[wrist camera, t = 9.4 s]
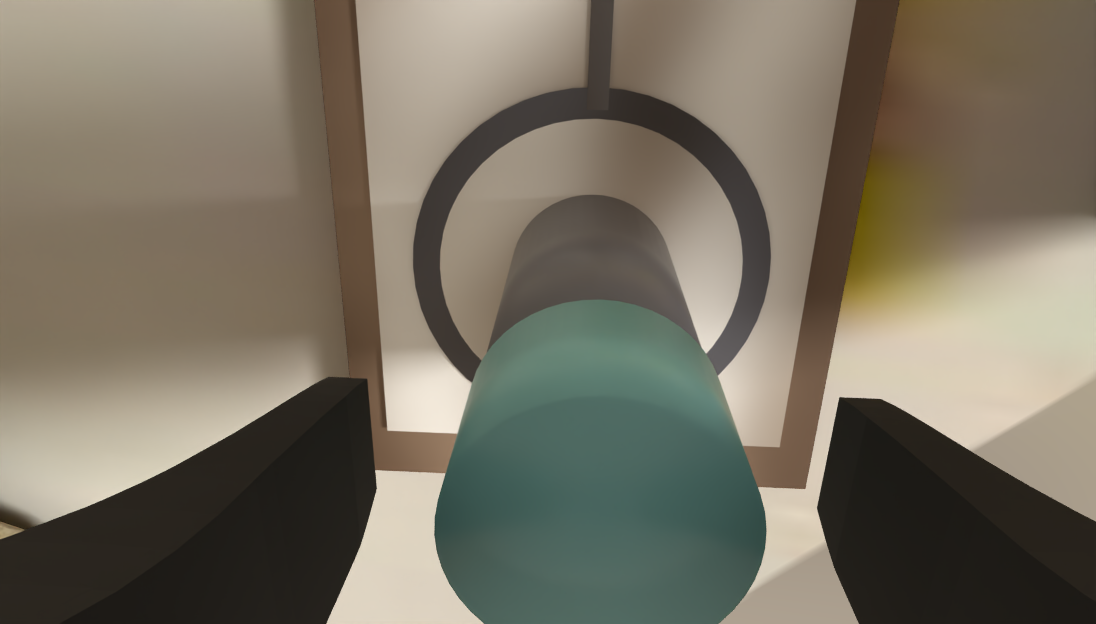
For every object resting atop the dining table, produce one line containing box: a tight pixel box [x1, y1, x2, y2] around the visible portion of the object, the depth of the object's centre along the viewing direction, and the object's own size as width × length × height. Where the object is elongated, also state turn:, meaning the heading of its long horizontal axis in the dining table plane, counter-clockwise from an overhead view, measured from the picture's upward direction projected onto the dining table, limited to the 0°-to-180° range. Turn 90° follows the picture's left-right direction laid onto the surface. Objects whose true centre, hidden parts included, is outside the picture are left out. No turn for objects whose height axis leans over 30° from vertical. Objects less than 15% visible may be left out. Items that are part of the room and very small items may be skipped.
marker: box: [434, 195, 766, 624], centre depth 14 cm, size 4×4×10 cm
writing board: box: [314, 0, 899, 489], centre depth 18 cm, size 13×20×2 cm, turn 179°
